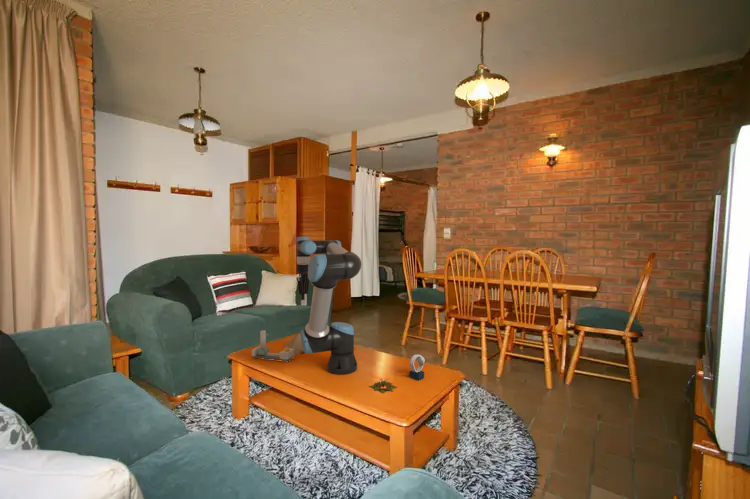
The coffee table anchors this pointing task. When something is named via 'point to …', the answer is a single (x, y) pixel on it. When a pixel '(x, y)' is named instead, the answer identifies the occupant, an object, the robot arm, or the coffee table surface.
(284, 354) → the rail bench
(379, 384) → the green leafy ornament
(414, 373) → the watch
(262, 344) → the carriage
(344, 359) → the robot arm
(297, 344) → the model pyramid
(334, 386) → the coffee table surface
